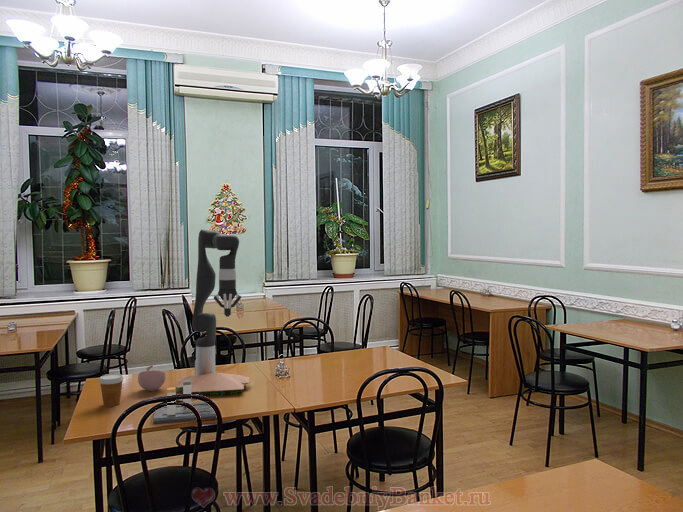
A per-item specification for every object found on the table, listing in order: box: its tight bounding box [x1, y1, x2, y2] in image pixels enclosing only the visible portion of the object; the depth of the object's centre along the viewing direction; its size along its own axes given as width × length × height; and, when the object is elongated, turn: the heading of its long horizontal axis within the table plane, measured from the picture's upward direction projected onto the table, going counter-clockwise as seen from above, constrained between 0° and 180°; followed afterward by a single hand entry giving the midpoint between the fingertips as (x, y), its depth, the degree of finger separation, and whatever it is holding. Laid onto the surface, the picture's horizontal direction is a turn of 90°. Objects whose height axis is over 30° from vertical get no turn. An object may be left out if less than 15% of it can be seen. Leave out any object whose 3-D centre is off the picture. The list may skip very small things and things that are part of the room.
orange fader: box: [166, 386, 177, 415], centre depth 199 cm, size 3×3×11 cm
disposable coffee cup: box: [98, 373, 124, 408], centre depth 216 cm, size 10×10×12 cm
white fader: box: [182, 380, 192, 407], centre depth 209 cm, size 3×3×11 cm
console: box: [152, 400, 218, 424], centre depth 205 cm, size 24×15×2 cm, turn 104°
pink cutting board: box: [175, 372, 250, 396], centre depth 238 cm, size 23×33×8 cm
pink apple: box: [137, 364, 167, 392], centre depth 236 cm, size 12×12×11 cm
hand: (227, 316), depth 233 cm, fingers closed
